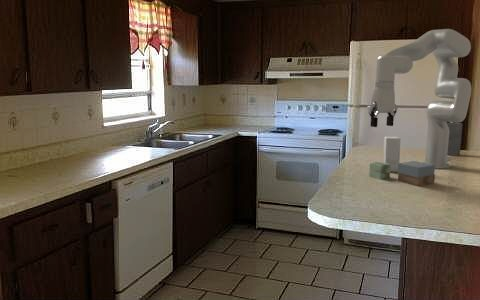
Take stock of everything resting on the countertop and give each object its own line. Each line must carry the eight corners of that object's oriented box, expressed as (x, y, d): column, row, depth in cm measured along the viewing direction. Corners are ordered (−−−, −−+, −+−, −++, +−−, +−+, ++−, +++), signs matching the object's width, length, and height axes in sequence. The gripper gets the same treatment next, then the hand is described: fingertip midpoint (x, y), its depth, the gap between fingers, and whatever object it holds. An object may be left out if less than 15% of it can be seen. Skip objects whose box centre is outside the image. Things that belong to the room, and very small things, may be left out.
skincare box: (399, 172, 204) (401, 138, 202) (383, 171, 206) (385, 138, 203) (396, 168, 212) (398, 136, 210) (382, 168, 214) (383, 135, 211)
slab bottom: (413, 179, 193) (414, 170, 193) (434, 184, 185) (434, 174, 184) (397, 182, 188) (398, 172, 188) (417, 187, 180) (418, 177, 179)
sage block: (378, 175, 200) (379, 161, 199) (389, 177, 194) (390, 164, 193) (369, 176, 197) (370, 163, 195) (379, 179, 191) (380, 165, 190)
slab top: (413, 170, 193) (414, 160, 192) (434, 174, 184) (434, 165, 184) (397, 172, 188) (398, 163, 187) (417, 177, 179) (418, 167, 179)
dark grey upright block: (429, 154, 251) (432, 118, 247) (430, 152, 256) (433, 117, 252) (459, 156, 244) (463, 119, 241) (459, 154, 249) (462, 118, 246)
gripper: (391, 85, 196) (388, 124, 199) (363, 85, 187) (360, 126, 190) (405, 85, 190) (402, 126, 193) (377, 85, 181) (374, 128, 184)
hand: (381, 126), depth 191 cm, fingers open, 9 cm apart
